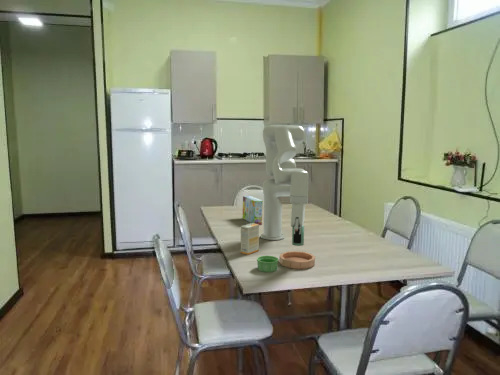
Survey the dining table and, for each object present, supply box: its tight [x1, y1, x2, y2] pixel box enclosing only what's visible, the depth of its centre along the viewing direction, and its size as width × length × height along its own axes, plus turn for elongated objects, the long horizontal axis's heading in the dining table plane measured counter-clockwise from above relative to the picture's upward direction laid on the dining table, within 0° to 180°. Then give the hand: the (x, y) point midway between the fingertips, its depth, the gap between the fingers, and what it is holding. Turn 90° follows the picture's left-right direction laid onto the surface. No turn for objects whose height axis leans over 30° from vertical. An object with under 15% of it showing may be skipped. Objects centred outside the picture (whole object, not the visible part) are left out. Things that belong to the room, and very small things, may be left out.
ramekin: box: [256, 255, 279, 273], centre depth 168 cm, size 9×9×4 cm
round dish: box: [278, 250, 316, 270], centre depth 175 cm, size 15×15×3 cm
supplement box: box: [240, 222, 260, 256], centre depth 190 cm, size 8×5×13 cm, turn 141°
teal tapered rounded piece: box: [291, 225, 305, 247], centre depth 174 cm, size 5×5×8 cm
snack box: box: [242, 195, 264, 226], centre depth 255 cm, size 21×6×15 cm, turn 22°
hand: (297, 241), depth 174 cm, fingers closed on teal tapered rounded piece, 5 cm apart
